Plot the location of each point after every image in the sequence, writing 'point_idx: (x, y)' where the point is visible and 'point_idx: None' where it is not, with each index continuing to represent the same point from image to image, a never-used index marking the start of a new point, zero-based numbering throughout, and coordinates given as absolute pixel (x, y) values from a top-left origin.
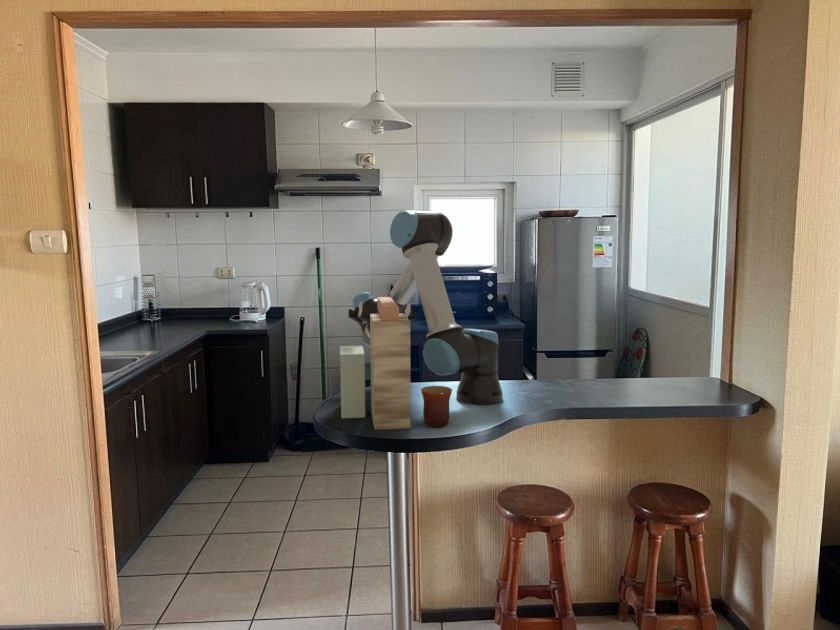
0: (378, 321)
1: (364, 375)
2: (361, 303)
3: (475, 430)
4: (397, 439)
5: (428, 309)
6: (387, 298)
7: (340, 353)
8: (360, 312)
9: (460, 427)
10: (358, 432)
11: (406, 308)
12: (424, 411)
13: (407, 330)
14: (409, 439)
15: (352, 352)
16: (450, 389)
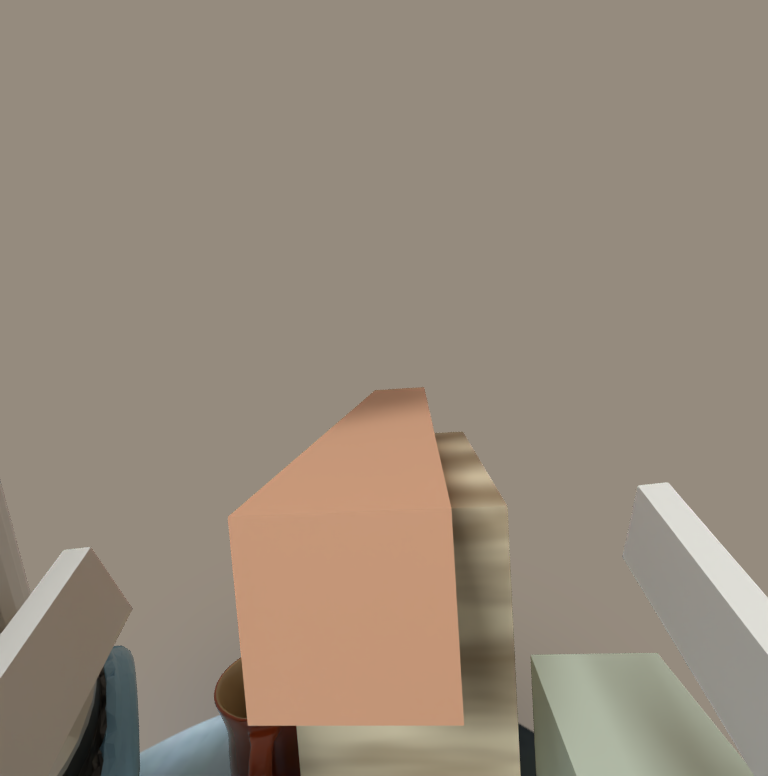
0: (446, 434)
1: (536, 757)
2: (644, 501)
3: (205, 726)
4: None
5: (17, 549)
6: (342, 451)
7: (674, 676)
8: (691, 645)
9: (225, 754)
10: (528, 750)
11: (17, 688)
12: None
13: None
14: None
15: (614, 694)
16: (223, 679)
